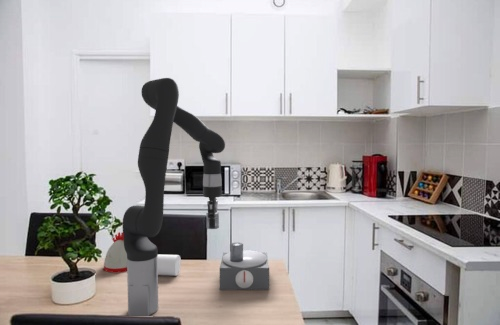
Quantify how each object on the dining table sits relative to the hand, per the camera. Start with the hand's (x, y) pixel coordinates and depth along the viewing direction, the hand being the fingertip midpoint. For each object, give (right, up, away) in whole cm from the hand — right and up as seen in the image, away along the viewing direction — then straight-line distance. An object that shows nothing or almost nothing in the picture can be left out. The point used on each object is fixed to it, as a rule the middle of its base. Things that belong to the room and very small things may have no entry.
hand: (212, 225), depth 133 cm
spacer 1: (0, -1, 0) cm, 1 cm away
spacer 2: (+10, -11, -10) cm, 18 cm away
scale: (+13, -20, -7) cm, 25 cm away
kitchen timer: (-41, -19, +8) cm, 46 cm away
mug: (-19, -20, +1) cm, 27 cm away
